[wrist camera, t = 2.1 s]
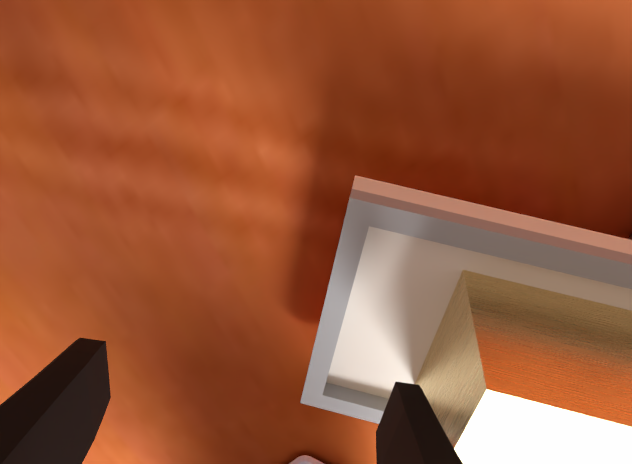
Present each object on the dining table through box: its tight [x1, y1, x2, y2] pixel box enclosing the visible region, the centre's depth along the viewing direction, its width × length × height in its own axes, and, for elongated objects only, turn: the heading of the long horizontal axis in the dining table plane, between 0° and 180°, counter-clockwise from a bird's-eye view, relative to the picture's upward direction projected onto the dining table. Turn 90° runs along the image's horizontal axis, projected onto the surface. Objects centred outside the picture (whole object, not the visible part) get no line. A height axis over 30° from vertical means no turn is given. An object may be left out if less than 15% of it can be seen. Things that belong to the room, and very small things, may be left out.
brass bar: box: [415, 270, 632, 464], centre depth 12 cm, size 8×5×4 cm, turn 80°
